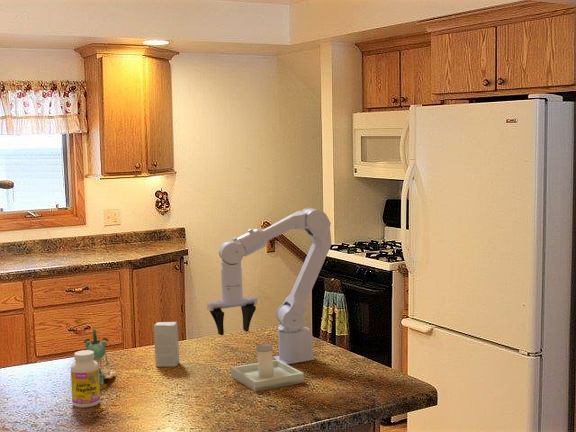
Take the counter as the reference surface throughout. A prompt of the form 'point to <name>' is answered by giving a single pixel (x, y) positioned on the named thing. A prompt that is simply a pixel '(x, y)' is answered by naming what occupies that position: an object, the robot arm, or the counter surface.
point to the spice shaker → (265, 360)
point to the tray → (281, 377)
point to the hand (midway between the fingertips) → (233, 332)
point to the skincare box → (166, 344)
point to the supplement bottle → (85, 380)
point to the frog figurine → (99, 357)
